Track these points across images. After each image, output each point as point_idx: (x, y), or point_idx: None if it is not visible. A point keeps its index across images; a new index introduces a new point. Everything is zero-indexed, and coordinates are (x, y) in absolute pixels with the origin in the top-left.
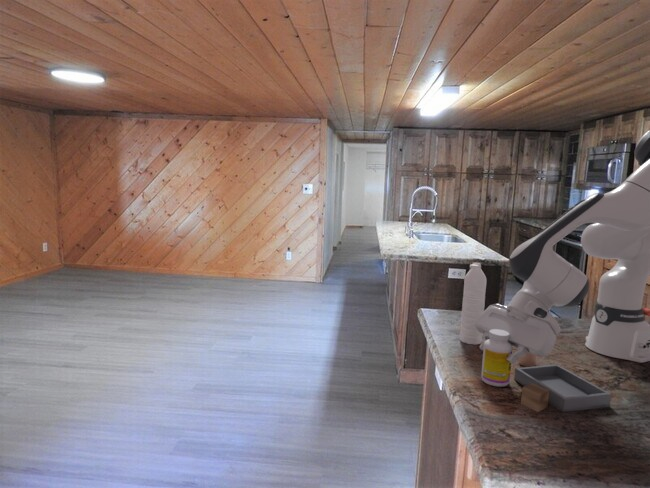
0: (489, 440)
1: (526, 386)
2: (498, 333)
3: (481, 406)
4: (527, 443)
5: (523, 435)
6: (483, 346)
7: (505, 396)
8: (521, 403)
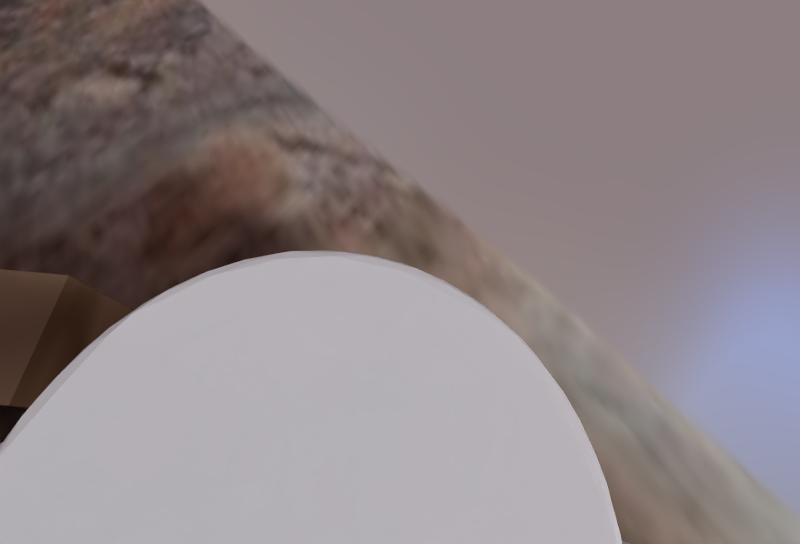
0: (165, 16)
1: (44, 313)
2: (272, 396)
3: (277, 159)
4: (48, 69)
5: (70, 98)
6: None
7: None
8: (129, 309)
